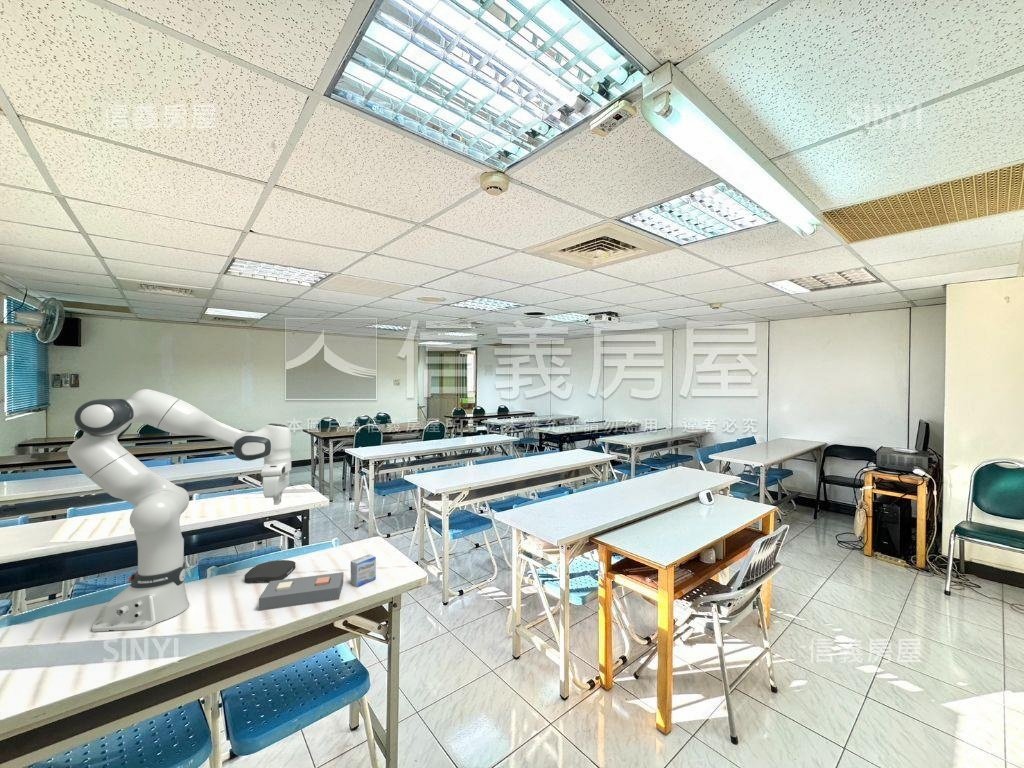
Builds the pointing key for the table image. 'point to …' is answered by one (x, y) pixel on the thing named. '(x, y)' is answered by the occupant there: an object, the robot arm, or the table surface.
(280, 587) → the sand key
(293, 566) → the media streaming box
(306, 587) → the key panel
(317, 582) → the terracotta key
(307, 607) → the table surface
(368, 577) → the medicine box
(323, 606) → the table surface
